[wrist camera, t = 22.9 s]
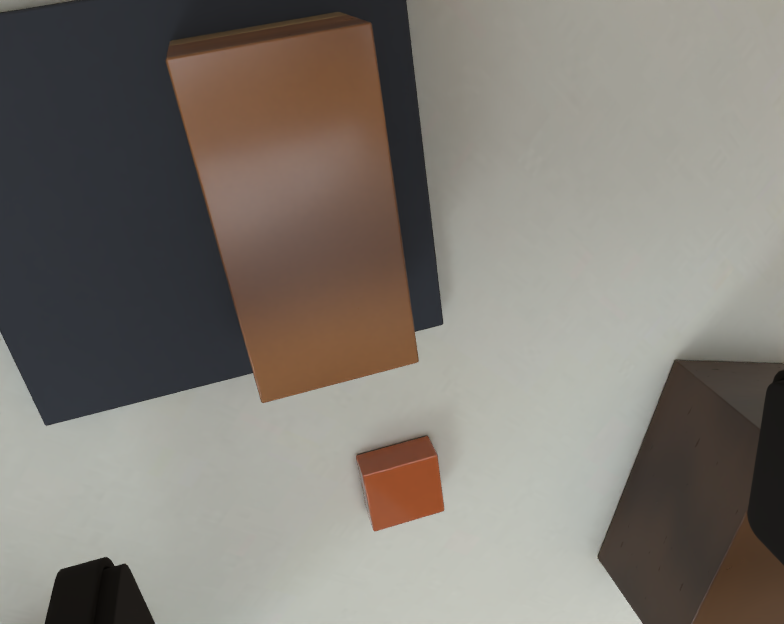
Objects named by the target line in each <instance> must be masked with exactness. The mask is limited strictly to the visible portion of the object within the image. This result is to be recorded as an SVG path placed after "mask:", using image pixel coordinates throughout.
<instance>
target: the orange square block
mask: <svg viewBox="0 0 784 624" xmlns="http://www.w3.org/2000/svg"><path fill="white" fill-rule="evenodd" d="M356 460H357V465H358V470H359V475H360V480H361V485H362V490H363V494H364V499H365V504H366V509H367V513H368V516H369V519H370V522H371V525H372V528H373V530H374V531H378V530H382V529H385V528H388V527H392V526H395V525H398V524H402V523H405V522H409V521H412V520H415V519H419V518H422V517H425V516H429V515H432V514H436V513H439V512H442V511H444V502H443V494H442V487H441V479H440V471H439V463H438V455H437V453H436V451H435V449H434V447H433V445H432V443H431V441H430V439H429V437H428V436H424V437H421V438H417V439H413V440H410V441H406V442H403V443H399V444H395V445H392V446H388V447H384V448H381V449H377V450H374V451H370V452H366V453H363V454H359V455H357V456H356Z"/></svg>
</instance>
